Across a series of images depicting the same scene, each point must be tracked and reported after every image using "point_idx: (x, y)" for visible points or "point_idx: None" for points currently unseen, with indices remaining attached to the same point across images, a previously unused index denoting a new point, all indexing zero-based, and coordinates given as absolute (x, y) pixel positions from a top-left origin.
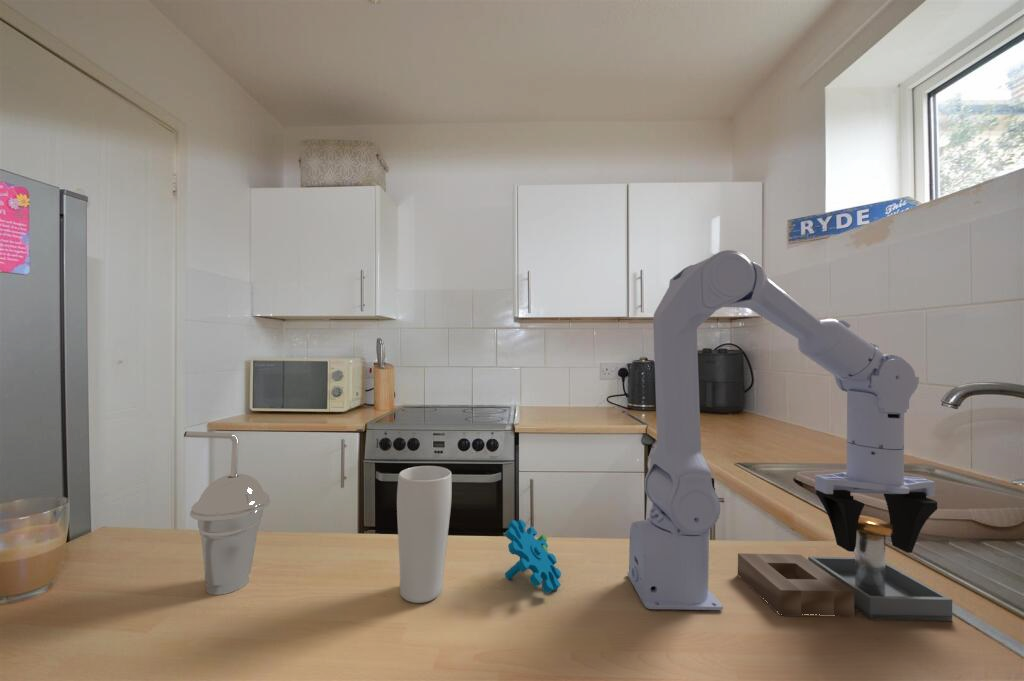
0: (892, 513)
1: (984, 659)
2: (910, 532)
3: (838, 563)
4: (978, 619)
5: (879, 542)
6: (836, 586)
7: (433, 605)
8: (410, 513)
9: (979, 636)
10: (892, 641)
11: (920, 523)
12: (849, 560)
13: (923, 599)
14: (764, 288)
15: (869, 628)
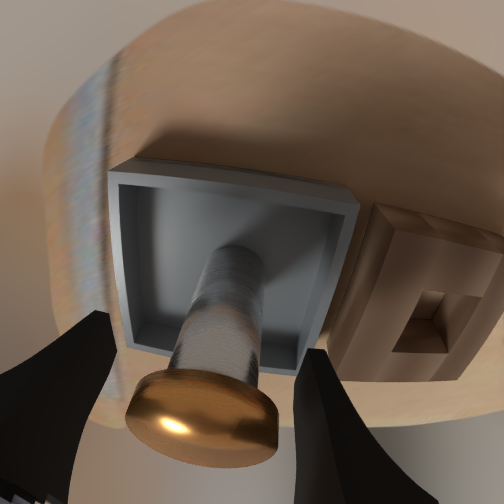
0: (73, 437)
1: (218, 29)
2: (69, 361)
3: None
4: (72, 162)
5: (216, 359)
6: (415, 256)
7: None
8: None
9: (131, 103)
10: (379, 113)
11: (22, 375)
12: None
13: (190, 178)
14: None
15: (383, 161)
